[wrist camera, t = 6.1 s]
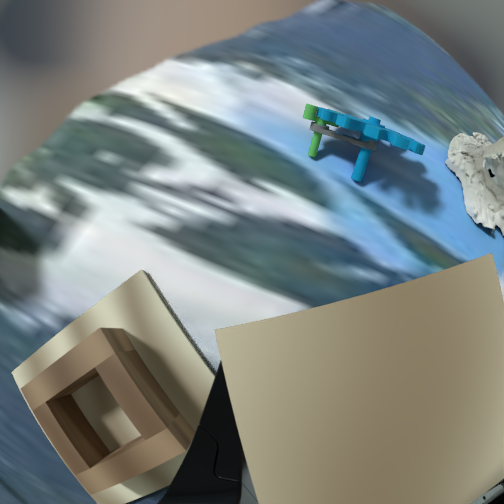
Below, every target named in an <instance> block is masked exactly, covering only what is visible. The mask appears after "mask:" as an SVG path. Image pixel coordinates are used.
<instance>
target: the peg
mask: <svg viewBox="0 0 504 504" xmlns="http://www.w3.org/2000/svg"><path fill="white" fill-rule="evenodd" d="M215 334H216V339H217V343H218V348H219V353H220V357H221V362H222V366H223V370H224V375H225V379H226V383H227V387H228V392H229V396H230V400H231V404H232V408H233V412H234V416H235V420H236V424H237V428H238V432H239V436H240V439H241V443H242V447H243V451H244V454H245V458H246V462H247V465H248V469H249V472H250V476H251V479H252V483H253V486H254V489H255V493H256V496H257V500H258V503H259V504H470V503H472V502H473V501H475V500H476V499H477V498H479V497H480V496H482V495H483V494H484V493H486V492H487V491H488V490H490V489H491V488H492V487H494V486H495V485H496V484H497V483H499V482H500V481H501V480H502V479H504V302H503V297H502V292H501V287H500V283H499V278H498V274H497V270H496V266H495V262H494V258H493V255H492V253H490V254H487V255H485V256H482V257H479V258H477V259H474V260H471V261H468V262H465V263H463V264H460V265H457V266H454V267H451V268H448V269H445V270H442V271H439V272H436V273H433V274H430V275H427V276H424V277H421V278H418V279H415V280H411V281H408V282H405V283H402V284H398V285H395V286H392V287H388V288H385V289H382V290H378V291H375V292H371V293H368V294H364V295H361V296H357V297H353V298H350V299H346V300H342V301H339V302H335V303H331V304H327V305H323V306H319V307H315V308H311V309H307V310H303V311H299V312H295V313H291V314H286V315H282V316H278V317H273V318H269V319H264V320H260V321H255V322H251V323H246V324H241V325H236V326H231V327H226V328H221V329H216V330H215Z"/></svg>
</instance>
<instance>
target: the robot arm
mask: <svg viewBox="0 0 504 504" xmlns="http://www.w3.org/2000/svg"><path fill="white" fill-rule="evenodd" d="M199 424H200V425H198V426H197V429H196V432H195V435H194V437H193V440H192V442H191V445H190V447H189V449H188V451H187V453H186V456H185V458H184V460H183V462H182V464H181V465H180V467H179V469H178V471H177V473H176V475H175V477H174V478H173V480H172V482H171V484H170V486H169V488H168V489H167V491H166V493H165V494H164V496H163V497H162V499H161V500H160V501H159V502H158V503H157V504H259V503H258V500H257V496H256V493H255V489H254V486H253V483H252V479H251V476H250V472H249V469H248V465H247V462H246V458H245V454H244V451H243V447H242V443H241V439H240V436H239V432H238V428H237V424H236V420H235V416H234V412H233V408H232V404H231V400H230V396H229V392H228V387H227V383H226V379H225V375H224V370H223V366H222V362H221V361H220V364H219V367H218V370H217V372H216V375H215V378H214V381H213V384H212V387H211V390H210V392H209V395H208V398H207V401H206V404H205V407H204V409H203V412H202V415H201V418H200V421H199ZM470 504H504V479H502V480H501V481H500V482H499V483H497V484H496V485H495V486H494V487H492V488H491V489H490V490H488V491H487V492H486V493H484V494H483V495H482V496H480V497H479V498H477V499H476V500H475V501H473V502H472V503H470Z"/></svg>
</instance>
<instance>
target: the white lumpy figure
mask: <svg viewBox="0 0 504 504" xmlns="http://www.w3.org/2000/svg"><path fill="white" fill-rule="evenodd" d="M473 135H474V136H468V135H465V134H464V133H463V134H462V133H460V134H458V135H457V136H455V137H454V138H453V140H452V141H451V143H450V145H449V150H448V159H447V160H446V161H445V163H446V164H447V166H448V167H449V168H450V170H453V172H455V173H456V176H457V177H459V179H460V181H461V182H462V187H463V195H464V199H465V202H464V204H465V206H466V211H467V213H468V214H469V215H470V216H471V217H472V219H473V220H474V222H476V224H478V223H482V224H483V225H482V226H484V227H489V228H492V229H493V230H495V226H496V225H497V226H498V227H500V228H501V231H502V233H503V236H504V137H502V138H501V139H499V140H498V141H497V142H495V143H494V144H492V143H491V142H489V141H487V140H489V139H487V138H486V136H485V135H482V134H480V133H474V132H473ZM475 135H476V136H475ZM489 169H491V171H492V173H493V174H494V175H495V176H494V177H490V174H489V171H488V170H489ZM492 233H493V231H492ZM492 233H491V234H492Z"/></svg>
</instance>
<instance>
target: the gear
mask: <svg viewBox="0 0 504 504" xmlns="http://www.w3.org/2000/svg"><path fill="white" fill-rule="evenodd" d="M317 108H318V110H317ZM316 112H317V114H316ZM317 116H318V117H317ZM303 118H305V119H308V120H312V121H315V122H311V126H310V130H312V131H314V134H313V138H312V142H311V146H310V150H309V153H308V155H309V156H311V157H316V155H317V151H318V147H319V144H320V140H321V136H322V134H325V135H328V136H331V137H334V138H337V139H340V140H343V141H346V142H349V143H352V144H355V145H357V146H360V147H361V148H360V151H359V154H358V158H357V161H356V164H355V167H354V170H353V174H352V177H351V178H352V179H354V180H356V181H359V182H362V179H363V176H364V173H365V170H366V167H367V164H368V161H369V158H370V154H371V151H375V150H376V147H377V144H378V140H380V139H382V140H385V141H388V142H390V143H391V144H392V145H394V146H396V147H399V148H401V149H404V150H407V149H408V150H410V151H412V152H414V153H417V154H419V155H422V154H423V151H424V148H425V145H423V144H421V143H419V142H417V141H415V140H413V139H411V138H409V137H406V136H404V135H401V134H400V133H397V132H395V131H392V130H390V129H387V128H385V126H382V125H380V121H381V120H379V119H376V118H373V117H369V120H366V119H363V120H361V119H358V118H356V117H353V116H350V115H347V114H342V113H340V112H337V111H333V110H330V109H324V108H320V107H317V106H313V105H309V104H306V107H305V111H304V115H303ZM326 124H328V125H331V126H335V127H339V126H341V127H344V128H347V129H351V130H356V131H359V132H361V136H360V139H356V138H354V137H351V136H348V135H345V134H342V133H339V132H336V131H332V130H329V126H326Z"/></svg>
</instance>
